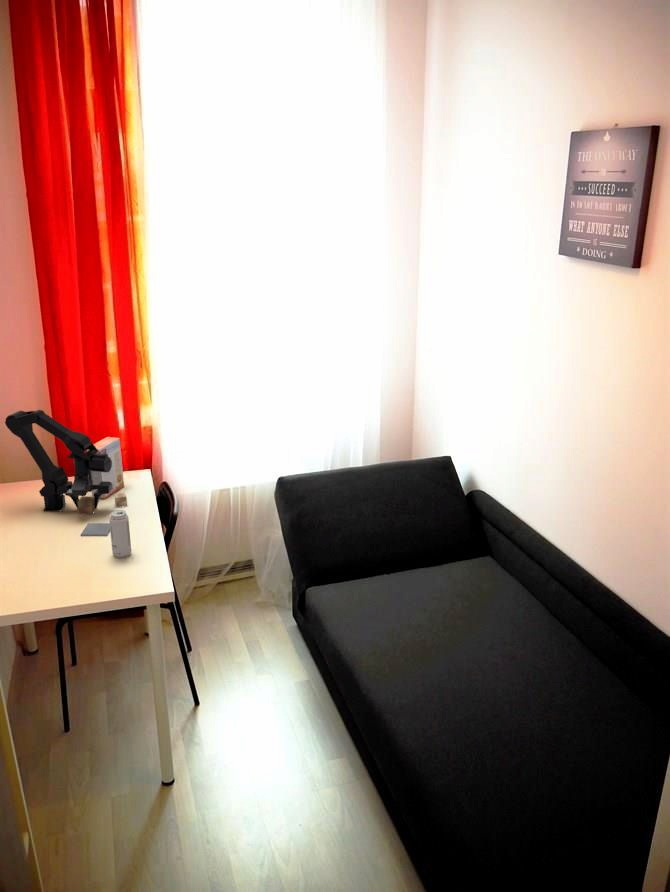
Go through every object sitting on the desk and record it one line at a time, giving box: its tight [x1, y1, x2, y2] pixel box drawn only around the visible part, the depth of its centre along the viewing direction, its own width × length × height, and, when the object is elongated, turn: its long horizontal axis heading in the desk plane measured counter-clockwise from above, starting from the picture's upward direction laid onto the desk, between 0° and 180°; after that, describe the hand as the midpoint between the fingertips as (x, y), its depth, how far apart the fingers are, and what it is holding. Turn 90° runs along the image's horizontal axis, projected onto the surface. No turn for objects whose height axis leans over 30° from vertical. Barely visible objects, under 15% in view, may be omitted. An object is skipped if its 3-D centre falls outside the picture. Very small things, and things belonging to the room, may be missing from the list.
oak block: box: [113, 492, 128, 508], centre depth 283 cm, size 4×4×4 cm
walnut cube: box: [77, 496, 96, 515], centre depth 277 cm, size 5×5×5 cm
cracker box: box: [86, 436, 125, 500], centre depth 292 cm, size 14×6×21 cm, turn 162°
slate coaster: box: [80, 522, 110, 537], centre depth 263 cm, size 9×9×1 cm
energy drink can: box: [108, 509, 132, 559], centre depth 244 cm, size 6×6×15 cm
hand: (87, 508), depth 278 cm, fingers open, 6 cm apart
